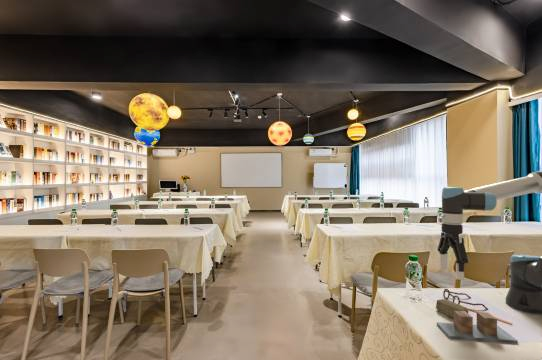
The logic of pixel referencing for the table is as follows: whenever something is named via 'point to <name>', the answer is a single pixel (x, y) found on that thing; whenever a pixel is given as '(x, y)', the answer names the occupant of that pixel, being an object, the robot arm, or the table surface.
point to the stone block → (449, 307)
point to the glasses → (459, 298)
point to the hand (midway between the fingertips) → (451, 274)
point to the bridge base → (475, 328)
